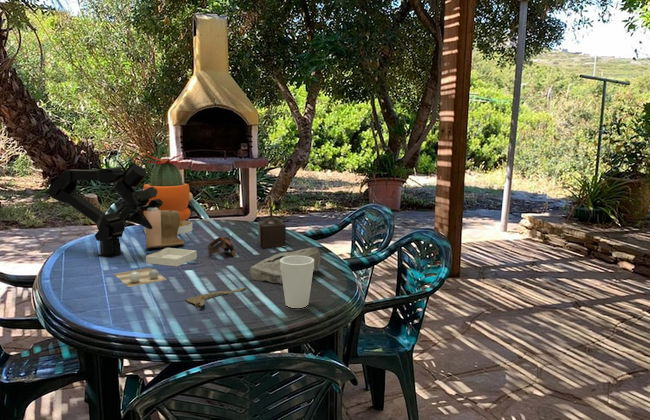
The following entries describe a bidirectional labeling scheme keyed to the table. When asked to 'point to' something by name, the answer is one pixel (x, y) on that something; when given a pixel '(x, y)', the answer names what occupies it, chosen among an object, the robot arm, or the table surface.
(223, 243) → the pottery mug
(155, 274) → the grey pebble
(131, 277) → the white pebble
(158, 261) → the cream dish
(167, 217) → the brown flared stand
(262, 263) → the stone
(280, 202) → the brown potted sapling
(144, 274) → the beech board
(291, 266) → the foam cup
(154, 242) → the terracotta jar
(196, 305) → the jawbone
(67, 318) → the table surface
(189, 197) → the potted cactus
